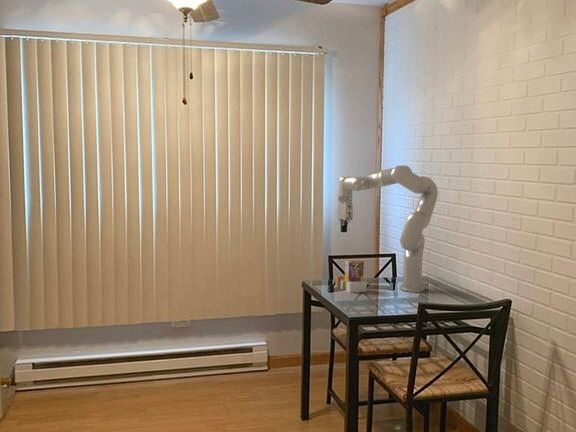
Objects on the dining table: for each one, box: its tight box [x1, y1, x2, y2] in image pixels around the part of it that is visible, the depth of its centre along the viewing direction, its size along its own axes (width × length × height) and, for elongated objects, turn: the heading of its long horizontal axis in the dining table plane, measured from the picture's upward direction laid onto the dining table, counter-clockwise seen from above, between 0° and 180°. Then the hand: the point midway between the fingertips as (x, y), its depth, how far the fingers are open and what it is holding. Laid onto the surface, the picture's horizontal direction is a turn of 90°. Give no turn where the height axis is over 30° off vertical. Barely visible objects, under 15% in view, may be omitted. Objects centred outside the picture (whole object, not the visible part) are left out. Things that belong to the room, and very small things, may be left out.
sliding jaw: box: [335, 275, 345, 290], centre depth 318 cm, size 10×9×5 cm
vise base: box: [346, 280, 368, 294], centre depth 317 cm, size 14×22×6 cm, turn 25°
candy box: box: [343, 259, 365, 291], centre depth 311 cm, size 9×4×15 cm, turn 114°
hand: (343, 231), depth 337 cm, fingers closed
